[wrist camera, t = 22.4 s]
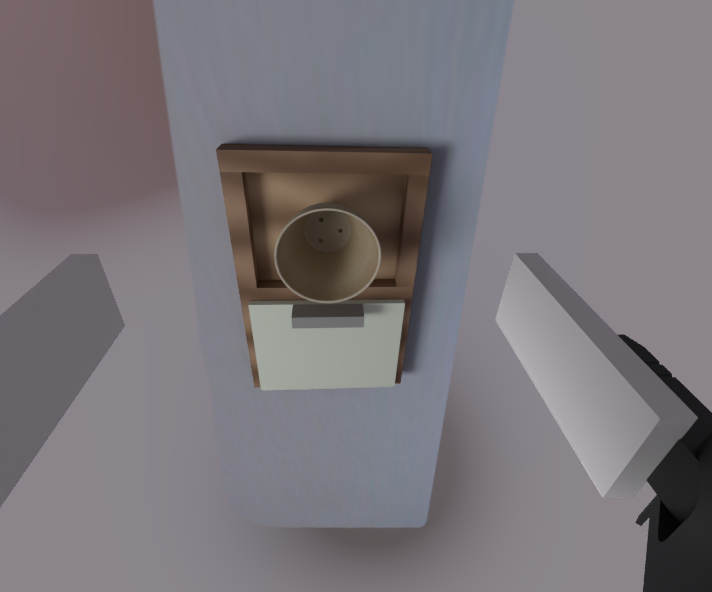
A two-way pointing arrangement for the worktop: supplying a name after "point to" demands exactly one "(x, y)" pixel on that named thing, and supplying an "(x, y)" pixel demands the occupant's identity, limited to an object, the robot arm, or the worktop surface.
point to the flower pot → (327, 253)
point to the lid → (326, 343)
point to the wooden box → (312, 186)
